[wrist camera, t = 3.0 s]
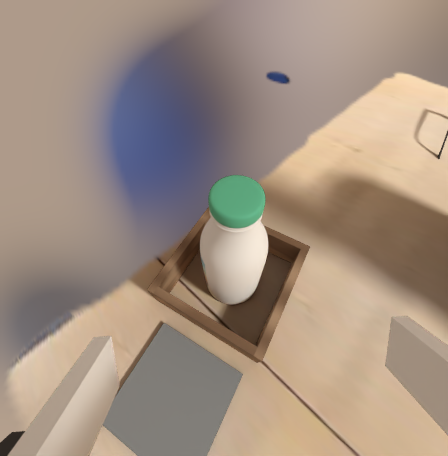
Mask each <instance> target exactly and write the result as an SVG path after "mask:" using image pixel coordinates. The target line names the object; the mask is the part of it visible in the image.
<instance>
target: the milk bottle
mask: <svg viewBox="0 0 448 456" xmlns="http://www.w3.org/2000/svg"><path fill="white" fill-rule="evenodd" d="M264 207H265V193H264V190H263V188H262V187H261V185H260V184H259V183H258V182H256V181H255V180H253V179H251V178H249V177H246V176H241V175H231V176H227V177H224V178H222V179H220V180H218V181H217V182H216V183H215V184H214V185H213V186H212V188H211V190H210V193H209V209H210V216H211V218H210V219H209V220H208V222H207V223H206V225H205V227H204V229H203V231H202V234H201V238H200V254H201V260H202V266H203V271H204V275H205V280H206V284H207V287H208V290H209V292H210V293H211V295H212V296H213V297H214V298H215V299H217V300H218V301H220V302H222V303H225V304H239V303H242V302H244V301H246V300H248V299H249V298H250V297H251V296H252V295H253V293H254V292H255V290H256V287H257V285H258V282H259V279H260V277H261V274H262V271H263V268H264V265H265V262H266V258H267V254H268V236H267V233H266V230H265V227H264V225H263V224H262V222H261V221H260V220H261V218H262V215H263V210H264Z"/></svg>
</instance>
